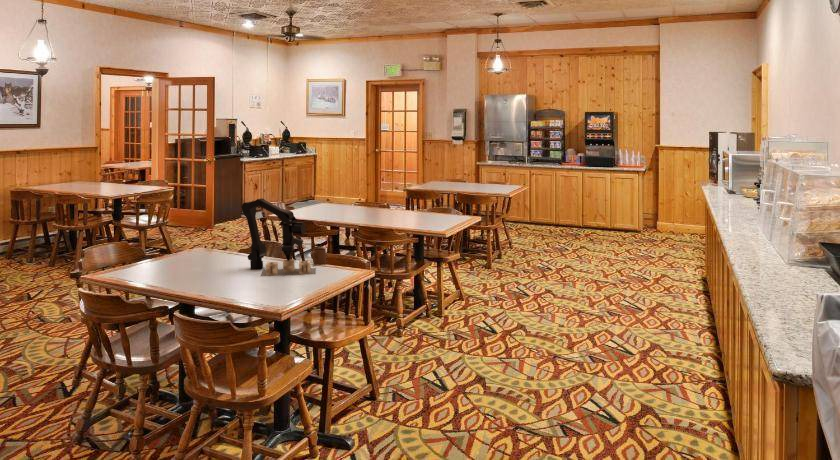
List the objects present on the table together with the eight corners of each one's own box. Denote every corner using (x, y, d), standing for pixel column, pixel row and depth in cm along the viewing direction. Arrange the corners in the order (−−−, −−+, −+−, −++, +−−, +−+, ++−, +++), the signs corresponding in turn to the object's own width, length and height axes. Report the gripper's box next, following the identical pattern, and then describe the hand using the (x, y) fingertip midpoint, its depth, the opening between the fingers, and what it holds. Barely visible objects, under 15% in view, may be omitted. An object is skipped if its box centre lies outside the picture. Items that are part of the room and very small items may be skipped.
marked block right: (299, 274, 339) (298, 263, 338) (299, 271, 345) (299, 260, 344) (310, 273, 340) (309, 262, 339) (310, 271, 346) (310, 260, 345)
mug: (316, 267, 358) (316, 251, 357) (306, 266, 361) (305, 250, 360) (328, 263, 369) (328, 248, 367) (318, 262, 372) (317, 247, 371)
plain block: (283, 272, 343) (282, 261, 342) (283, 269, 349) (283, 259, 348) (294, 271, 344) (293, 261, 343) (294, 269, 350) (294, 259, 349)
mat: (260, 277, 334) (260, 276, 334) (262, 271, 349) (262, 269, 349) (315, 275, 339) (315, 274, 338) (315, 269, 354) (315, 268, 354)
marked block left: (266, 275, 336) (265, 264, 335) (267, 272, 342) (266, 262, 341) (277, 274, 337) (276, 263, 336) (277, 272, 343) (277, 261, 342)
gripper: (301, 235, 336) (302, 263, 338) (302, 230, 354) (303, 256, 356) (281, 236, 334) (282, 264, 336) (283, 231, 352) (283, 257, 354)
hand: (288, 260), depth 346 cm, fingers closed
